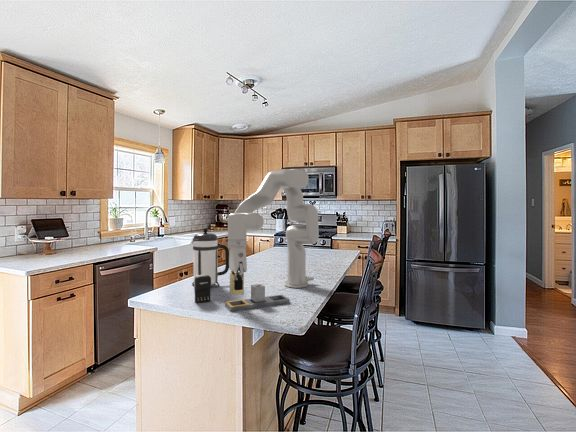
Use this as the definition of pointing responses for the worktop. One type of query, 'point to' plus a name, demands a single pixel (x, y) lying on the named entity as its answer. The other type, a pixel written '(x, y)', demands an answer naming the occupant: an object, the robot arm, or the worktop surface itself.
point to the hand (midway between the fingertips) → (236, 287)
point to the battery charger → (202, 288)
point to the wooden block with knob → (232, 285)
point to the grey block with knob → (257, 293)
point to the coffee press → (208, 256)
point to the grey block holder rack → (249, 305)
